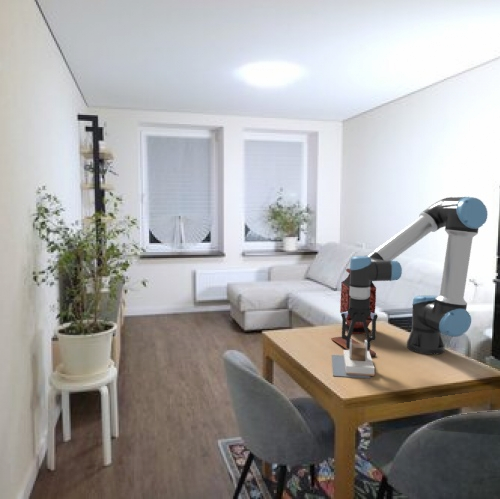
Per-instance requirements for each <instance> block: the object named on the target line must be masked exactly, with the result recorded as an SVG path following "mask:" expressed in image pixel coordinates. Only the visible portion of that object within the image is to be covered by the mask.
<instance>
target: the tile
mask: <svg viewBox="0 0 500 499" xmlns="http://www.w3.org/2000/svg"><path fill="white" fill-rule="evenodd" d="M342 353H343V354H342V355H343V358H344V365H345V372H346V374H351V375H368V376H370V377H371V376H372V377H374V376H375V368H376V367H375V366H374V362H373V359H372V356H370V353H369V351H367V359H365V361H356V360H351V358H349V350H347V349H343V351H342Z"/></svg>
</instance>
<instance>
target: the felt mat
mask: <svg viewBox="0 0 500 499" xmlns="http://www.w3.org/2000/svg"><path fill="white" fill-rule="evenodd" d="M331 363H332V364H331V365H332V366H331V367H332V377H339V378H355V379H371V376H368V375H351V374H346V372H345V365H344V358H343V354H341V355H340V354H331Z"/></svg>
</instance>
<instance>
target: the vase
mask: <svg viewBox="0 0 500 499" xmlns="http://www.w3.org/2000/svg"><path fill="white" fill-rule="evenodd" d="M345 270H346V273H348V275H347V277H346V278H345V279H344V280H342V281H341V283H340V284H341V286H340V287H341V290H340V310H339V313H340V314H341V312H347V311H348V309H349V298H350V297H351V296H350V295H349V292H350V268H345ZM373 282H374V281H371V282H370V297H369V299H370V311H371V313H376V304H377V303H376V302H377V287H376V285H375V284H374V283H373ZM351 320H352V319H351V317H350V316H349V314H348V315H347V318H346V331H347V333H348V330H349V327H350V324H351ZM366 323H367V327H368V331H369V334H371V333H372V330H371V329H370V328H369V325H370V324H371V323H372V319H371V315H370V316H369V317H368V318H367V320H366ZM352 334H355V335H356V334H365V329H364V325H363V322H355V325H354V328H353V332H352Z"/></svg>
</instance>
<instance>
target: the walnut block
mask: <svg viewBox="0 0 500 499" xmlns="http://www.w3.org/2000/svg"><path fill="white" fill-rule="evenodd" d="M365 352H366V348H365V343H361V344H356V343H352V354H351V360H356V361H365Z"/></svg>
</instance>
